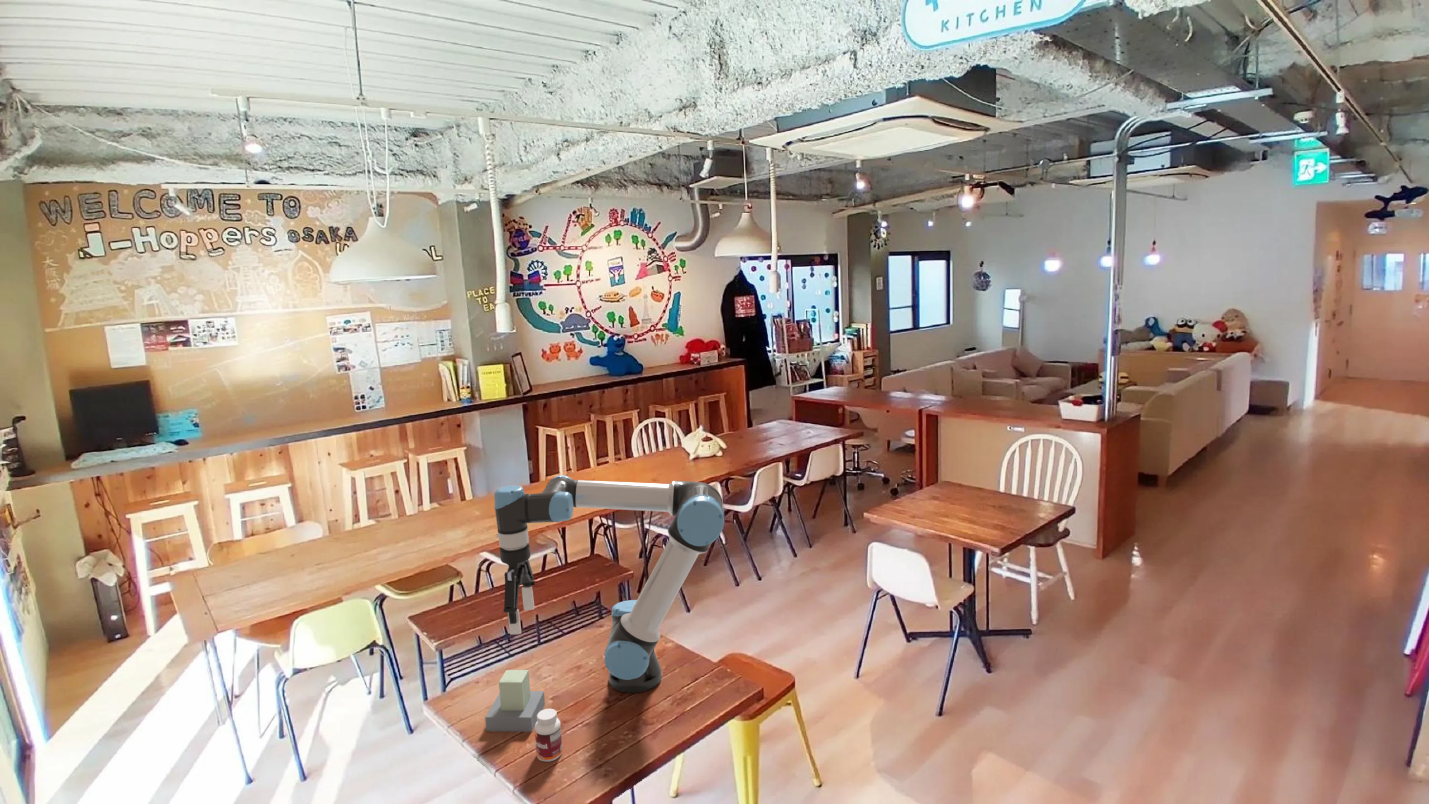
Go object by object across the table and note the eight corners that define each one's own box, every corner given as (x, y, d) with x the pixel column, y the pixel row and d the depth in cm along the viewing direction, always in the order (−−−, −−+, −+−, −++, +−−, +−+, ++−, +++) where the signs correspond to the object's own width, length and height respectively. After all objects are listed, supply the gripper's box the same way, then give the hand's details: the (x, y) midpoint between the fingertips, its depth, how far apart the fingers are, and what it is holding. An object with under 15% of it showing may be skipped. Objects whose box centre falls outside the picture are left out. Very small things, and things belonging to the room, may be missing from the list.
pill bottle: (531, 755, 181) (528, 715, 179) (551, 743, 185) (549, 703, 183) (547, 766, 177) (544, 724, 175) (567, 753, 181) (564, 712, 179)
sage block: (530, 697, 198) (528, 669, 197) (523, 710, 193) (521, 682, 191) (508, 697, 199) (506, 669, 197) (501, 710, 193) (498, 682, 191)
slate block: (544, 704, 202) (543, 691, 201) (532, 731, 190) (531, 717, 189) (501, 704, 203) (500, 690, 202) (486, 731, 191) (485, 717, 190)
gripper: (513, 529, 204) (521, 600, 208) (485, 564, 179) (494, 645, 183) (540, 527, 204) (547, 599, 208) (515, 563, 179) (524, 643, 183)
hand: (522, 621), depth 196 cm, fingers open, 13 cm apart
